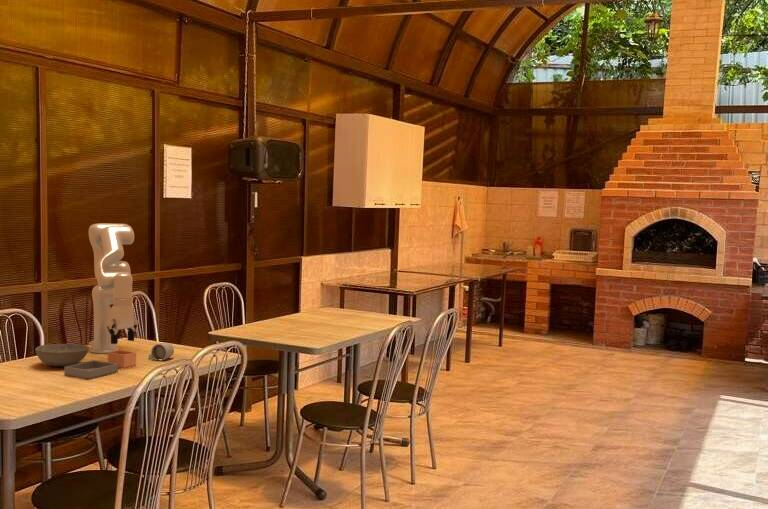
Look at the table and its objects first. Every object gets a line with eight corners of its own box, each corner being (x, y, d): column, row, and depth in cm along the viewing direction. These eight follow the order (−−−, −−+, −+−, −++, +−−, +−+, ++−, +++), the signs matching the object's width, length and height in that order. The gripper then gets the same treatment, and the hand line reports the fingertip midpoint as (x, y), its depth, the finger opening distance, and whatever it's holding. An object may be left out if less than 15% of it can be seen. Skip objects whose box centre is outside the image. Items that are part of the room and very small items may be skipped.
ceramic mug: (175, 358, 341) (175, 341, 340) (166, 361, 333) (166, 344, 332) (154, 356, 343) (154, 340, 343) (144, 360, 335) (144, 343, 335)
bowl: (26, 364, 319) (26, 346, 318) (74, 358, 334) (75, 340, 334) (48, 373, 304) (48, 353, 304) (97, 366, 320) (97, 347, 319)
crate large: (64, 375, 301) (64, 366, 301) (93, 368, 315) (93, 360, 315) (89, 379, 296) (89, 370, 296) (117, 372, 310) (118, 363, 310)
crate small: (108, 366, 320) (108, 352, 319) (120, 363, 326) (120, 350, 326) (124, 369, 316) (124, 355, 316) (135, 366, 322) (136, 352, 322)
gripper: (130, 300, 328) (130, 338, 329) (100, 303, 313) (100, 344, 313) (143, 301, 325) (143, 340, 326) (114, 304, 310) (114, 345, 310)
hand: (122, 342), depth 320 cm, fingers open, 9 cm apart
